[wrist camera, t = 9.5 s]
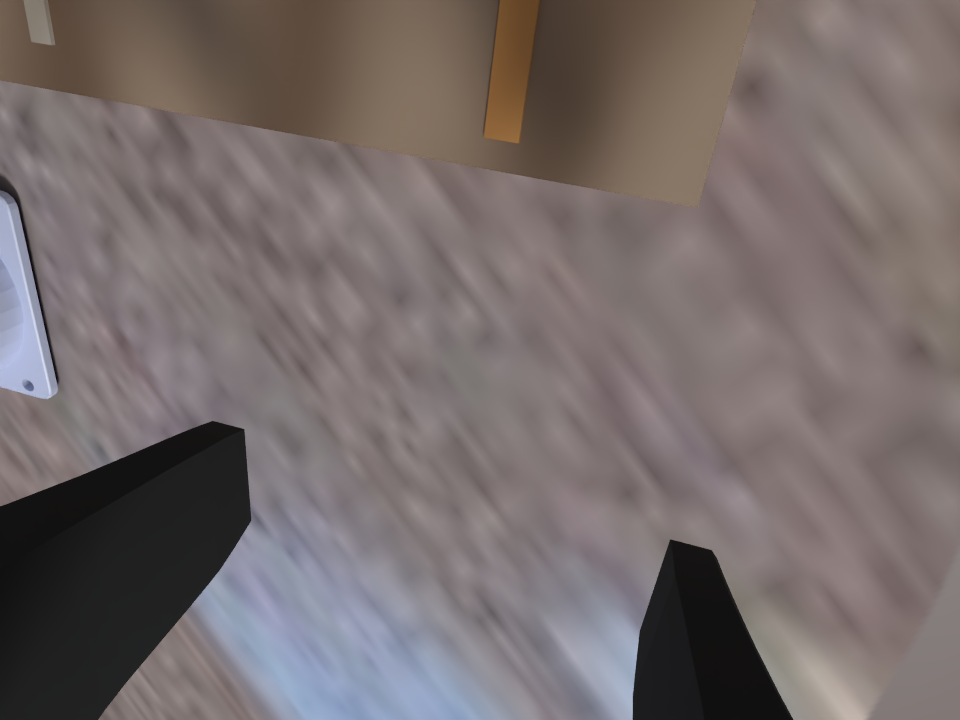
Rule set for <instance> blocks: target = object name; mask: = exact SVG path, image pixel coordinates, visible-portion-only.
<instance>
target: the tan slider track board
mask: <svg viewBox="0 0 960 720" xmlns="http://www.w3.org/2000/svg"><path fill="white" fill-rule="evenodd" d="M756 1H757V0H0V80H2V81H7V82H12V83H18V84H23V85H29V86H34V87H40V88H45V89H51V90H56V91H62V92H67V93H73V94H78V95H84V96H89V97H95V98H100V99H106V100H111V101H116V102H122V103H127V104H133V105H138V106H144V107H149V108H155V109H160V110H166V111H171V112H177V113H182V114H188V115H193V116H199V117H204V118H210V119H215V120H220V121H226V122H231V123H237V124H242V125H248V126H253V127H259V128H264V129H270V130H275V131H281V132H286V133H292V134H297V135H303V136H308V137H314V138H319V139H324V140H330V141H335V142H341V143H346V144H352V145H357V146H363V147H368V148H374V149H379V150H385V151H390V152H396V153H401V154H407V155H412V156H418V157H423V158H428V159H434V160H439V161H445V162H450V163H456V164H461V165H467V166H472V167H478V168H483V169H489V170H494V171H500V172H505V173H511V174H516V175H522V176H527V177H532V178H538V179H543V180H549V181H554V182H560V183H565V184H571V185H576V186H582V187H587V188H593V189H598V190H604V191H609V192H615V193H620V194H626V195H631V196H636V197H642V198H647V199H653V200H658V201H664V202H669V203H675V204H680V205H686V206H691V207H697V208H698V205H699V202H700V198H701V195H702V191H703V188H704V184H705V181H706V177H707V174H708V170H709V167H710V163H711V159H712V156H713V152H714V149H715V145H716V142H717V138H718V135H719V131H720V128H721V124H722V121H723V117H724V114H725V110H726V107H727V103H728V100H729V96H730V93H731V89H732V86H733V82H734V79H735V75H736V72H737V68H738V65H739V61H740V58H741V54H742V51H743V47H744V44H745V40H746V36H747V33H748V29H749V26H750V22H751V19H752V15H753V12H754V8H755V5H756Z"/></svg>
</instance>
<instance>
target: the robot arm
mask: <svg viewBox="0 0 960 720" xmlns="http://www.w3.org/2000/svg"><path fill="white" fill-rule="evenodd" d="M0 387H2V388H6V389H10V390H13V391H17V392H20V393H24V394H28V395H31V396H35V397H38V398H42V399H48V398H50V397H52V396H53V395H55V394H56V393H57V391H58V386H57V381H56V377H55V372H54V368H53V363H52V359H51V354H50V350H49V345H48V341H47V336H46V332H45V327H44V323H43V318H42V314H41V309H40V305H39V300H38V295H37V291H36V286H35V282H34V277H33V273H32V268H31V264H30V259H29V255H28V250H27V246H26V241H25V237H24V232H23V228H22V223H21V219H20V214H19V210H18V206H17V203H16V202H15V200H14V199H13V197H11V196H10V195H9V194H8V193H6V192H4V191H1V190H0ZM250 522H251V511H250V498H249V485H248V472H247V459H246V446H245V433H244V429H242V428H238V427H234V426H230V425H226V424H222V423H218V422H214V421H211V422H209V423H206V424H203V425H200V426H198V427H195V428H192V429H190V430H187V431H185V432H183V433H180V434H178V435H175V436H173V437H171V438H168V439H166V440H163V441H161V442H159V443H156V444H154V445H152V446H149V447H147V448H145V449H142V450H140V451H138V452H136V453H133V454H131V455H128V456H126V457H124V458H121V459H119V460H117V461H114V462H112V463H110V464H107V465H105V466H102V467H100V468H98V469H95V470H93V471H91V472H88V473H86V474H83V475H81V476H79V477H76V478H73V479H71V480H68V481H66V482H63V483H60V484H58V485H55V486H53V487H50V488H48V489H45V490H42V491H40V492H37V493H35V494H32V495H29V496H27V497H24V498H22V499H19V500H16V501H14V502H11V503H9V504H6V505H3V506H0V720H98V719H99V718H100V716H101V715H102V713H103V712H104V710H105V709H106V708H107V706H108V705H109V704H110V703H111V701H112V700H113V699H114V697H115V696H116V695H117V694H118V692H119V691H120V690H121V688H122V687H123V686H124V685H125V683H126V682H127V681H128V680H129V679H130V677H131V676H132V675H133V674H134V673H135V671H136V670H137V669H138V668H139V667H140V665H141V664H142V663H143V662H144V661H145V659H146V658H147V657H148V656H149V655H150V654H151V652H152V651H153V650H154V649H155V648H156V646H157V645H158V644H159V643H160V642H161V640H162V639H163V638H164V637H165V636H166V635H167V633H168V632H169V631H170V630H171V629H172V627H173V626H174V625H175V624H176V623H177V621H178V620H179V619H180V618H181V617H182V615H183V614H184V613H185V612H186V611H187V610H188V608H189V607H190V606H191V605H192V603H193V602H194V601H195V600H196V599H197V597H198V596H199V595H200V594H201V593H202V591H203V590H204V589H205V588H206V586H207V585H208V584H209V583H210V582H211V580H212V579H213V578H214V577H215V575H216V574H217V573H218V572H219V570H220V569H221V567H222V566H223V564H224V563H225V561H226V560H227V558H228V557H229V555H230V554H231V552H232V551H233V549H234V548H235V546H236V544H237V543H238V541H239V539H240V538H241V536H242V535H243V533H244V531H245V530H246V528H247V526H248V525H249V523H250ZM633 720H793V718H792V716H791V715H790V713H789V711H788V709H787V707H786V705H785V703H784V702H783V700H782V698H781V696H780V694H779V692H778V690H777V688H776V686H775V684H774V682H773V680H772V678H771V676H770V674H769V672H768V671H767V669H766V667H765V665H764V663H763V661H762V659H761V657H760V655H759V653H758V651H757V649H756V647H755V645H754V642H753V640H752V638H751V636H750V634H749V632H748V630H747V628H746V625H745V623H744V621H743V619H742V617H741V614H740V612H739V610H738V608H737V606H736V603H735V601H734V599H733V596H732V594H731V592H730V589H729V587H728V585H727V582H726V580H725V577H724V575H723V573H722V570H721V568H720V565H719V563H718V560H717V558H716V556H715V555H714V553H713V552H712V550H709V549H705V548H701V547H697V546H694V545H690V544H686V543H682V542H678V541H674V540H670V542H669V545H668V548H667V551H666V554H665V557H664V560H663V563H662V566H661V569H660V572H659V575H658V578H657V581H656V584H655V587H654V590H653V593H652V596H651V599H650V602H649V605H648V608H647V611H646V614H645V617H644V620H643V623H642V626H641V629H640V635H639V644H638V653H637V662H636V671H635V681H634V691H633Z"/></svg>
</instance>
